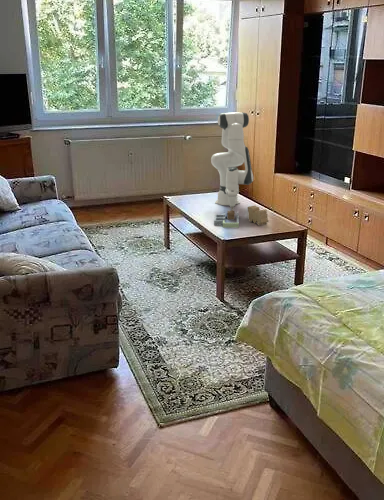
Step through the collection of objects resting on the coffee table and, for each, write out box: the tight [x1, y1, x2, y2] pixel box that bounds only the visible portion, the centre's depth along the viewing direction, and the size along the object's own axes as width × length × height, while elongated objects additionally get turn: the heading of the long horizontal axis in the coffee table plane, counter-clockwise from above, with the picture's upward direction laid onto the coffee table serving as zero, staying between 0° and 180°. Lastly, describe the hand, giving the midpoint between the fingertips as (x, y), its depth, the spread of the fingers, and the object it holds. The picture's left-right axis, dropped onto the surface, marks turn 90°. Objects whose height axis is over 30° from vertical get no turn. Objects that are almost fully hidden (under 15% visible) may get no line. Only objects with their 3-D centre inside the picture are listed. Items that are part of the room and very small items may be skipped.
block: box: [226, 210, 236, 220], centre depth 361 cm, size 5×5×5 cm
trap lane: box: [213, 212, 240, 229], centre depth 354 cm, size 25×16×3 cm, turn 176°
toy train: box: [247, 205, 270, 226], centre depth 350 cm, size 6×17×10 cm, turn 28°
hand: (232, 210), depth 368 cm, fingers closed
